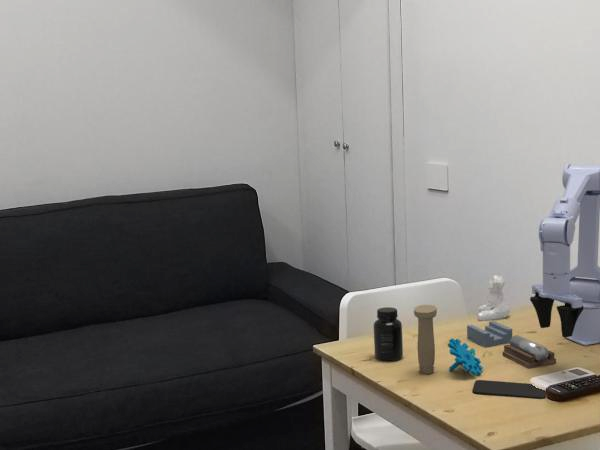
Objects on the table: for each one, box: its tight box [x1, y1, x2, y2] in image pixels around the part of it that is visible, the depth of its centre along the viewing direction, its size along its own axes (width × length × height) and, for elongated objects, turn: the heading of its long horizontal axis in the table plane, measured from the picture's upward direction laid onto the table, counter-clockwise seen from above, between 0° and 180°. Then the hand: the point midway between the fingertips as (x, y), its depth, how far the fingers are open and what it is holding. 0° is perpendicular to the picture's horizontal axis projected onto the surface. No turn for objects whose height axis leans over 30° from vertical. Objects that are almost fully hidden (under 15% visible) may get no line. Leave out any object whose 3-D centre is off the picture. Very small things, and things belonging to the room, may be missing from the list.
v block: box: [466, 320, 513, 348], centre depth 204 cm, size 8×8×4 cm
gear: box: [446, 338, 484, 376], centre depth 184 cm, size 11×6×10 cm
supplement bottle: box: [373, 306, 404, 362], centre depth 195 cm, size 7×7×12 cm
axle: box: [509, 334, 549, 362], centre depth 189 cm, size 10×4×4 cm, turn 21°
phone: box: [471, 379, 547, 400], centre depth 172 cm, size 7×1×15 cm
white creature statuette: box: [477, 274, 511, 322], centre depth 224 cm, size 10×9×12 cm
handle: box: [413, 304, 438, 375], centre depth 184 cm, size 5×6×15 cm
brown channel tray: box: [502, 344, 557, 369], centre depth 190 cm, size 8×10×2 cm
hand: (556, 331), depth 179 cm, fingers open, 7 cm apart
